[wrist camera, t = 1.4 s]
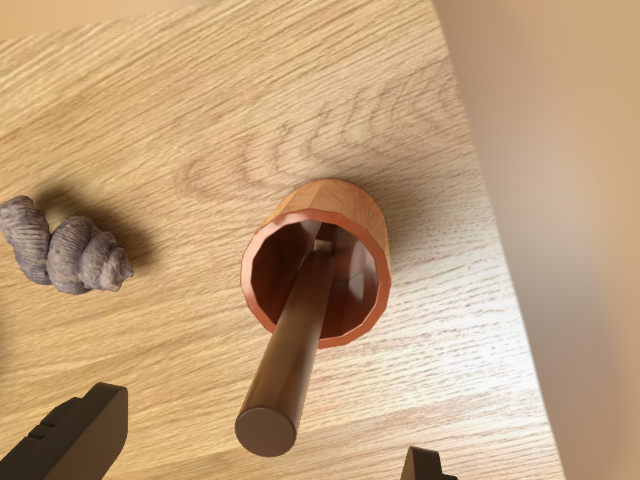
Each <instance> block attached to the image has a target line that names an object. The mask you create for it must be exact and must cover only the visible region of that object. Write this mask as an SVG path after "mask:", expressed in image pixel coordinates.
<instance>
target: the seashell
mask: <svg viewBox="0 0 640 480" xmlns="http://www.w3.org/2000/svg"><path fill="white" fill-rule="evenodd" d="M0 231H1V233H3V237H4V238H5V239H6V241H7V242H8V243H9V244H10V245H11V247H12V248H13V249H14V254H15V255H16V258H15V260H16V261H17V262H18V264H19V266H20V270H21V271H23V272H24V274H25V275H26V276H27V278H29V279H30V280H31V281H33V282H35V283H37V284H42V285H54V286H55V287H56V288H57V289H58V292H65V293H67V294H73V295H79V294H84V293H86V292H88V291H91V290H93V289H98V290H102V291H105V290H109V291H112V292H117V291H118V290H119V289H120V287H121V286H122V282H123V281H124V280H125V279H126V278H128V277H133V275H134V272H133V264H132V263H131V262H130V261H128V259H127V253H126V250H125V249H124V248H122V247H117V241H116V238H115V236H114V234H112V233H111V232H105V231H104V232H102V231H100V230H99V229H97V227H96V225H95V224H94V222H93V221H92V220H91V219H89V218H88V217H86V216H84V215H80V216H71V217H68V218H67V219H66V220H64V221H62V223H61V225H59V226H58V227H57V228H56V229H55V231H54V232H53V233H52V234H50V233H49V227H48V223H47V221H46V220H45V218H43V217H42V214H40V213H39V210H37V209H35V208H34V205H33V200H32V199H30V198H29V197H28V196H24V195H19V196H15V197H14V198H12V199H11V200H9V201H7V202H4V203H2V204H1V205H0Z"/></svg>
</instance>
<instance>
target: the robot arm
mask: <svg viewBox="0 0 640 480" xmlns="http://www.w3.org/2000/svg"><path fill="white" fill-rule="evenodd" d="M127 433H128V391H127V388H126V387H122V386H117V385H112V384H107V383H102V382H99V383H97V384H95V385H94V386H93V387H92V388H91V389H90V390H89V391H88V393H87V394H86V395H85V396H84V397H83V398H77V397H73V398H71V399H70V400H68V401H66V402H64V403H62V404H61V405H59V406H57V407H55V408H54V409H53V410H52V411H51V412H50V413H49V414H48V415H47V416H46V417H45V418H44V419H43V420H42V421H41V422H40V424H39V425H37V426H36V427H35V428H34V429H33V430H32V431H31V432H30V433H29V434H28V436H27V437H24V438H23V439H22V440H21V441H20V442H19V443H18V444H17V445H16V446H15V447H14V448H13V449H12V450H11V451H10V452H9V453H8V454H7V455H6V456H5V457H4V458H3V459H2V460H1V461H0V480H101V479H102V478H103V477H104V475H105V474H106V472H107V471H108V470H109V468H110V467H111V465H112V464H113V463H114V461H115V460H116V458H117V457H118V455H119V454H120V452H121V451H122V449H123V446H124V444H125V441H126V438H127ZM400 480H458V478H457V477H455V476H451V475H446V474H442V468H441V463H440V457H439V453H438V452H437V451H433V450H428V449H423V448H418V447H413V446H410V447H409V449H408V452H407V456H406V460H405V464H404V468H403V471H402V475H401V479H400Z"/></svg>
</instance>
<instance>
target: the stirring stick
mask: <svg viewBox="0 0 640 480" xmlns="http://www.w3.org/2000/svg"><path fill="white" fill-rule="evenodd" d="M337 231H338V225H336V224H330V223H324V222H322V223H321V225H320V228H319V230H318V232H317V235H316V237H315V240H314V247H313V252H311V253H309V254H308V255H307V256H306V258H305V260H304V262H303V264H302V267H301V269H300V271H299V274H298V276H297V278H296V281H295V283H294V285H293V288H292V290H291V292H290V295H289V297H288V299H287V302H286V304H285V306H284V309H283V311H282V313H281V316H280V318H279V320H278V323H277V325H276V328H275V330H274V332H273V335H272V337H271V339H270V342H269V344H268V346H267V349H266V351H265V353H264V356H263V358H262V360H261V363H260V365H259V367H258V370H257V372H256V374H255V377H254V379H253V381H252V384H251V386H250V388H249V391H248V393H247V395H246V398H245V400H244V402H243V405H242V407H241V409H240V412H239V414H238V416H237V419H236V422H235V433H236V436H237V438H238V440H239V442H240V443H241V445H242V446H243V447H244V448H245V449H247V450H248V451H250V452H251V453H253V454H256V455H258V456H262V457H277V456H280V455H283V454H285V453H286V452H288V451H289V450H290V449H291V448H292V447H293V445H294V443H295V441H296V437H297V433H298V428H299V424H300V420H301V415H302V411H303V407H304V402H305V398H306V394H307V390H308V385H309V381H310V377H311V372H312V368H313V364H314V359H315V355H316V351H317V347H318V342H319V338H320V334H321V329H322V325H323V321H324V316H325V312H326V308H327V304H328V299H329V295H330V291H331V286H332V282H333V278H334V273H335V269H336V264H335V260H334V259H333V256H334V250H335V244H336V237H337Z"/></svg>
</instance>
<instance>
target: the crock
mask: <svg viewBox="0 0 640 480" xmlns="http://www.w3.org/2000/svg"><path fill="white" fill-rule="evenodd" d="M322 222H324V223H330V224H336V225H338V231H337V237H336V244H335V250H334V256H333V259H334V260H335V264H336V269H335V273H334V278H333V282H332V286H331V291H330V295H329V299H328V304H327V308H326V312H325V316H324V321H323V325H322V329H321V334H320V338H319V342H318V347H317V349H318V348H319V349H323V348H329V347H336V346H342V345H345V344H348V343H350V342H352V341H353V340H355V339H357V338H358V337H360V336H362V335H364V334H365V333H367V332H369V331H370V330H371V329H372V327H373V326H374V325H375V323H376V322H377V321H378V319H379V318H380V316H381V315H382V314H383V312H384V311H385V309H386V307H387V302H388V297H389V292H390V288H391V268H390V254H389V241H388V233H387V228H386V222H385V219H384V216H383V213H382V211H381V209H380V208H379V206H378V204H377V203H376V202H375V200H374V199H373V198H372V197H371V196H370V195H369V194H368V193H367V192H365V191H364V190H363V189H361V188H360V187H358V186H356V185H354V184H352V183H349V182H347V181H343V180H338V179H320V180H315V181H311V182H308V183H306V184H304V185H302V186H300V187H298V188H297V189H295V190H294V191H293V192H292V193H291V194H289V195H288V196H287V197H285V199H284V200H283V201H282V202H281V203H280V204H279V205H278V207H277V208H276V209H275V210H274V211H273V213H272V214H271V215H270V216H269V217H268V218H267V220H266V221H265V222H264V223H263V224H262V225H261V227H260V228H259V229H258V230H257V231H256V233H255V234H254V236H253V238H252V240H251V241H250V243H249V245H248V247H247V248H246V250H245V252H244V254H243V256H242V266H241V277H240V282H241V283H240V284H241V287H242V290H243V293H244V296H245V299H246V302H247V305H248V308H249V309H250V311H251V312H252V313H253V314H254V316H255V317H256V318H257V319H258V320H259V322H260V323H261V324H262V325H263V326H264V328H265V329H267V331H269V332H271V333H273V332H274V330H275V328H276V325H277V323H278V320H279V318H280V316H281V313H282V311H283V309H284V306H285V304H286V302H287V299H288V297H289V295H290V292H291V290H292V288H293V285H294V283H295V281H296V278H297V276H298V274H299V271H300V269H301V267H302V264H303V262H304V260H305V258H306V256H307V255H308V254H309V253H311V252H313V247H314V240H315V237H316V235H317V232H318V230H319V228H320V225H321V223H322Z"/></svg>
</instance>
